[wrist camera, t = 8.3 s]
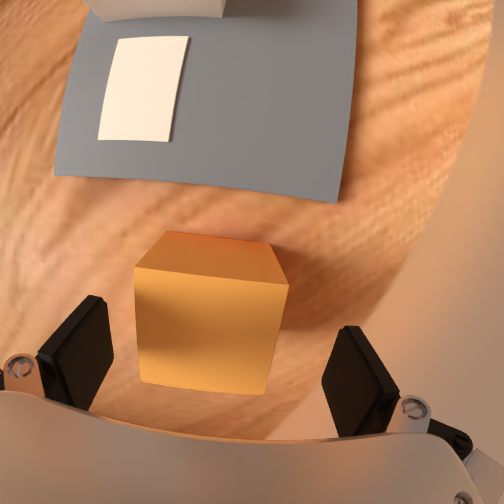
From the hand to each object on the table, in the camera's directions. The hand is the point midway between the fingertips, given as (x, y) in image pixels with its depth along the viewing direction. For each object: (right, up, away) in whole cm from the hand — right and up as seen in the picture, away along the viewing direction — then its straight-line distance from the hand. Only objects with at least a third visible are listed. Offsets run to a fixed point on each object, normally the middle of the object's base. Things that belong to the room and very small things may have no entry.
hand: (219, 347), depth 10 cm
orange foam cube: (-1, +2, +7) cm, 7 cm away
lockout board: (-1, +16, +2) cm, 16 cm away
